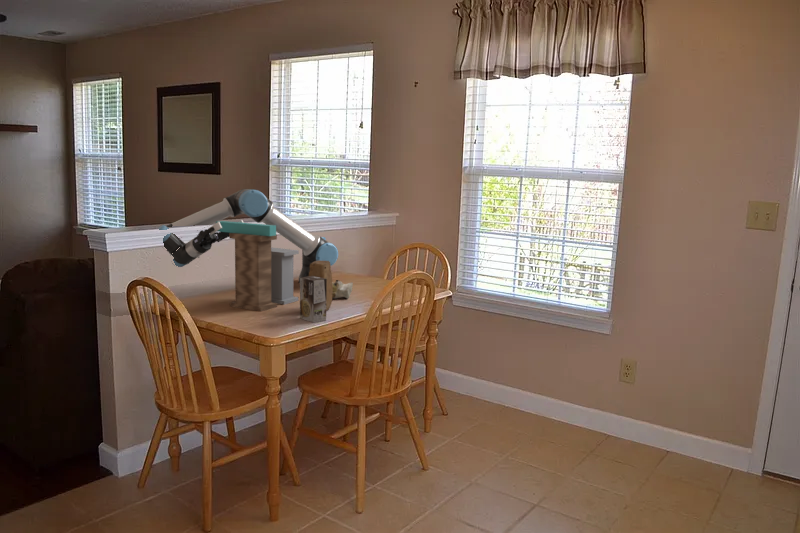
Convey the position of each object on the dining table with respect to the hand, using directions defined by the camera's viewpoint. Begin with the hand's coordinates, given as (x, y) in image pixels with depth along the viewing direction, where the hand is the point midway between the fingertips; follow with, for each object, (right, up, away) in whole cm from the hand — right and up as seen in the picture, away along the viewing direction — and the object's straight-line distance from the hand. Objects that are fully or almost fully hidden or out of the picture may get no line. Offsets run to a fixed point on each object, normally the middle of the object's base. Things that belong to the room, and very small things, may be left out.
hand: (232, 223), depth 254 cm
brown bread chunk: (+37, -35, -1) cm, 51 cm away
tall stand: (+9, -34, 0) cm, 35 cm away
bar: (+6, -4, -2) cm, 8 cm away
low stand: (+16, -32, +14) cm, 38 cm away
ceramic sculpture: (+41, -32, +22) cm, 56 cm away
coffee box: (+36, -38, -18) cm, 55 cm away
